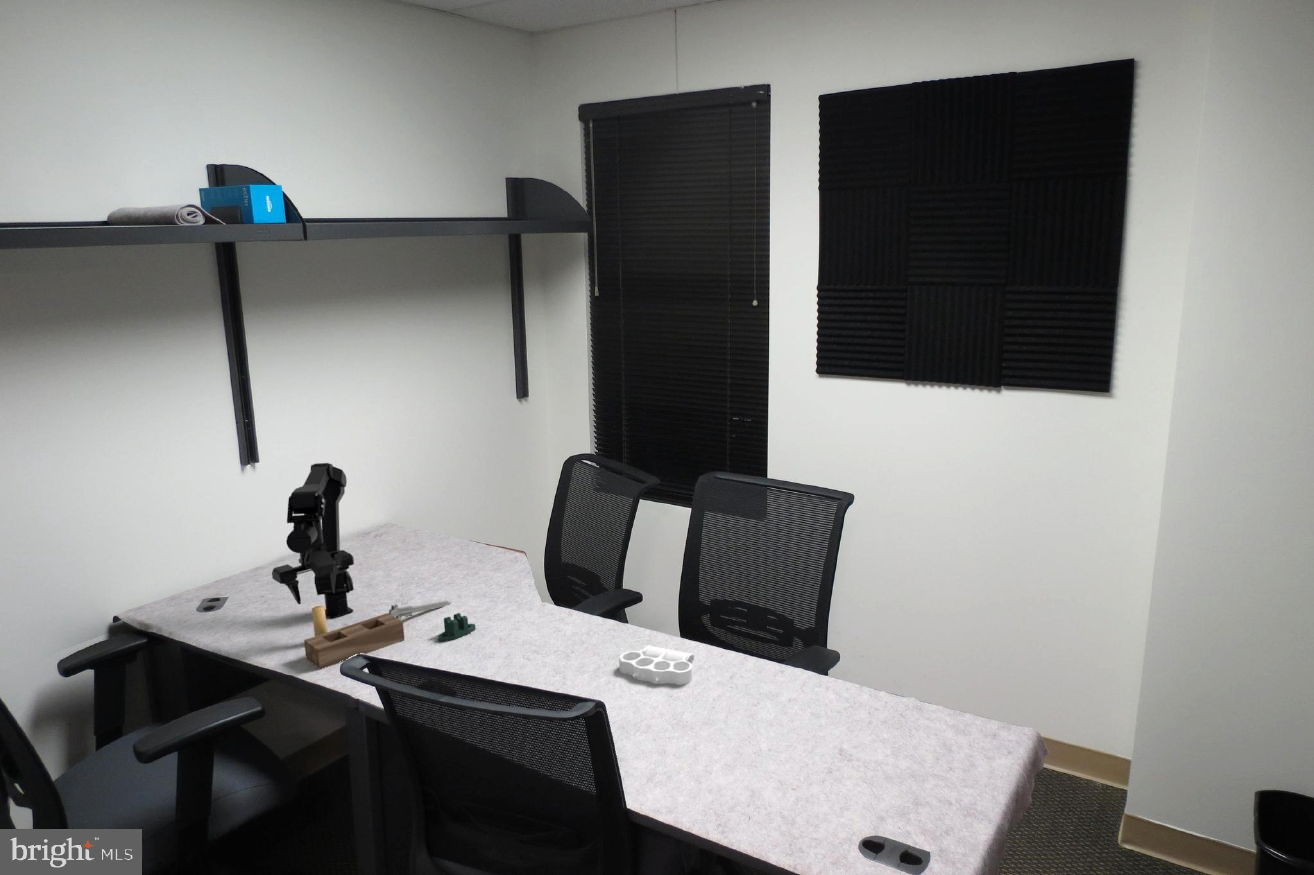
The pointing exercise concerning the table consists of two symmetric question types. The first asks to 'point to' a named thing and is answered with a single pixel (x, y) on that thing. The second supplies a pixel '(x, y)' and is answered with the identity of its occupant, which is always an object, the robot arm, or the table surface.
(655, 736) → the table surface
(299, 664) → the table surface
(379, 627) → the hole block
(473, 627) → the mount
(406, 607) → the caliper
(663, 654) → the white brass knuckles
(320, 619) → the peg
